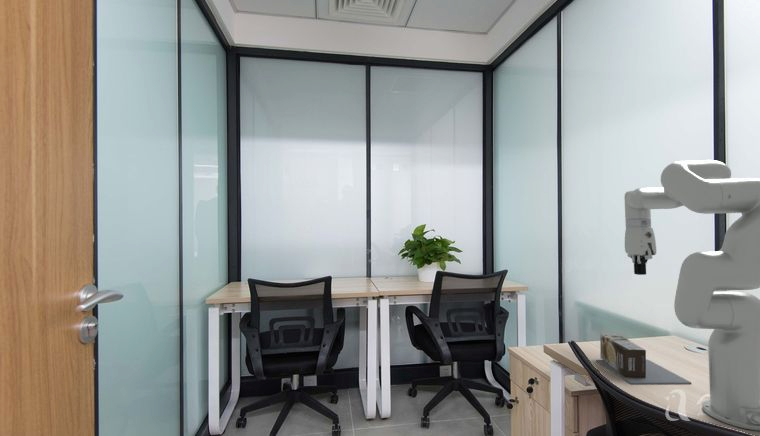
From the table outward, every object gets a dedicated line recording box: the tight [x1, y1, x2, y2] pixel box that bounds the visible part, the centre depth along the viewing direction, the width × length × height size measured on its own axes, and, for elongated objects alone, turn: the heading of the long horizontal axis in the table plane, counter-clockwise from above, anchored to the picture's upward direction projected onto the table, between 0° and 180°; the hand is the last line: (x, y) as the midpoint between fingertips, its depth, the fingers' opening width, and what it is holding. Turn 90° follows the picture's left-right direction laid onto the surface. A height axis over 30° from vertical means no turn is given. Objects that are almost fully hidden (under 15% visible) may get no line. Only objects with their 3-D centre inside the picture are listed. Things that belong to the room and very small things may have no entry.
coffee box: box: [599, 332, 647, 378], centre depth 117 cm, size 9×6×16 cm
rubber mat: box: [595, 359, 692, 385], centre depth 115 cm, size 18×18×1 cm
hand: (640, 274), depth 127 cm, fingers closed
